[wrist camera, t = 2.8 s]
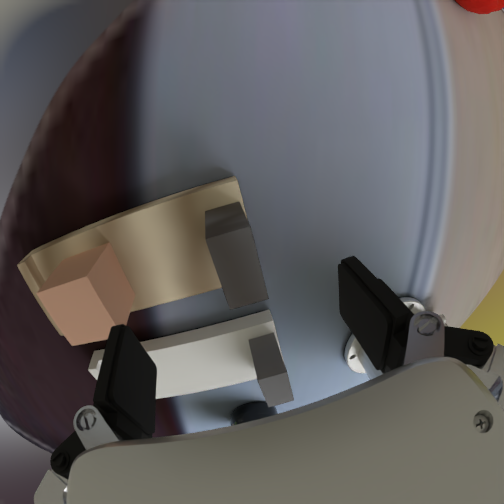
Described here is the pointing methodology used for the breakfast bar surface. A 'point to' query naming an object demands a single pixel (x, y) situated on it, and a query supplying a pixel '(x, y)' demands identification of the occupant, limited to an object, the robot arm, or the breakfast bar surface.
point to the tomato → (481, 5)
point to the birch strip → (169, 248)
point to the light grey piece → (218, 359)
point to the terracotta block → (88, 295)
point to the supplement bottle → (251, 412)
